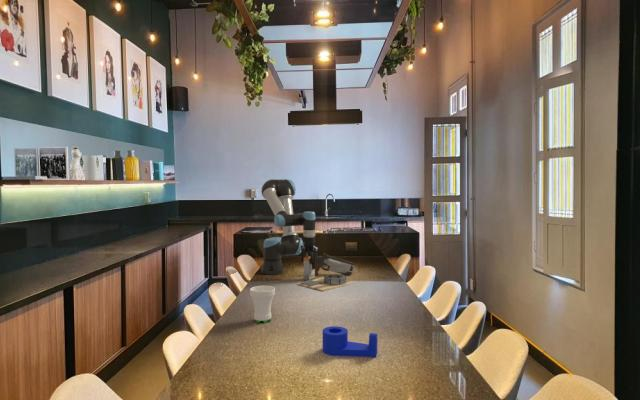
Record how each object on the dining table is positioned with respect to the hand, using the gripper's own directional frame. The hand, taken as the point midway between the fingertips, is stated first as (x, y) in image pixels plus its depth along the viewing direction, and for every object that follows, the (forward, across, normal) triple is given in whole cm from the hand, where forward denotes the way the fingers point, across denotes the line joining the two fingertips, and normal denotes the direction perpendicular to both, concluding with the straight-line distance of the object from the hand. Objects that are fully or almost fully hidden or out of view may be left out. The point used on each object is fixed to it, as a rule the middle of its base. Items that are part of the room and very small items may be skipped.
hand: (309, 273), depth 266 cm
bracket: (+4, +92, -67) cm, 114 cm away
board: (+4, +15, -1) cm, 16 cm away
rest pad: (+3, +10, -8) cm, 13 cm away
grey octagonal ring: (+3, +18, +4) cm, 19 cm away
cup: (+4, +42, -68) cm, 80 cm away
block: (+4, 0, 0) cm, 4 cm away
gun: (+4, 0, +20) cm, 20 cm away
